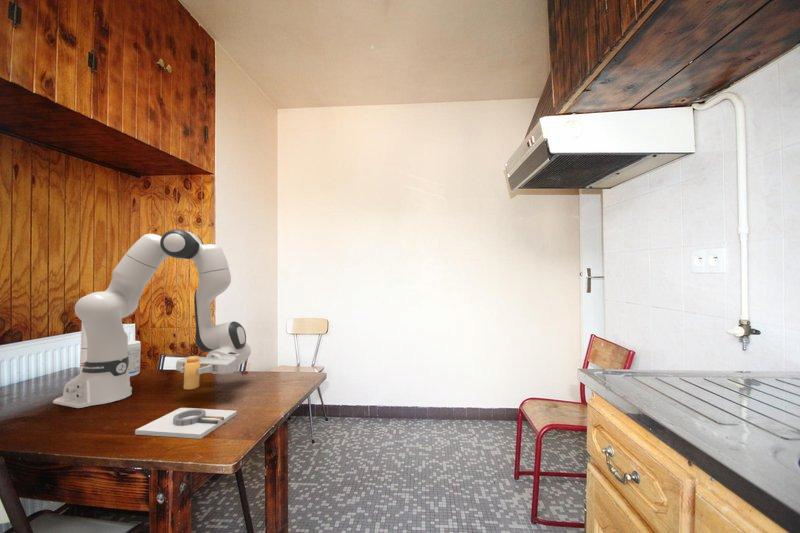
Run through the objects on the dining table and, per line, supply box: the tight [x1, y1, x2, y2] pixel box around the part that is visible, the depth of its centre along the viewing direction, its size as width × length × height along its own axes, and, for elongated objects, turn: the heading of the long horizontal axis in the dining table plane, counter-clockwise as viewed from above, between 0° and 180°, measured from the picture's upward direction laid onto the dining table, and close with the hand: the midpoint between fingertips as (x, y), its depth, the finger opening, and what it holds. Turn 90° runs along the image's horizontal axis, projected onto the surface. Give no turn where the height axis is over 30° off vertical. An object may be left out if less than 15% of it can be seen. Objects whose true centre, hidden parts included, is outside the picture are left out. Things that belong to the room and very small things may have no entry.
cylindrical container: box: [79, 322, 87, 374], centre depth 147 cm, size 7×7×25 cm
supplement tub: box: [127, 340, 142, 378], centre depth 147 cm, size 10×10×15 cm
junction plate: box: [134, 407, 238, 440], centre depth 98 cm, size 20×16×3 cm
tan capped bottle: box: [183, 355, 201, 390], centre depth 110 cm, size 4×4×10 cm
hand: (190, 371), depth 109 cm, fingers closed on tan capped bottle, 4 cm apart
